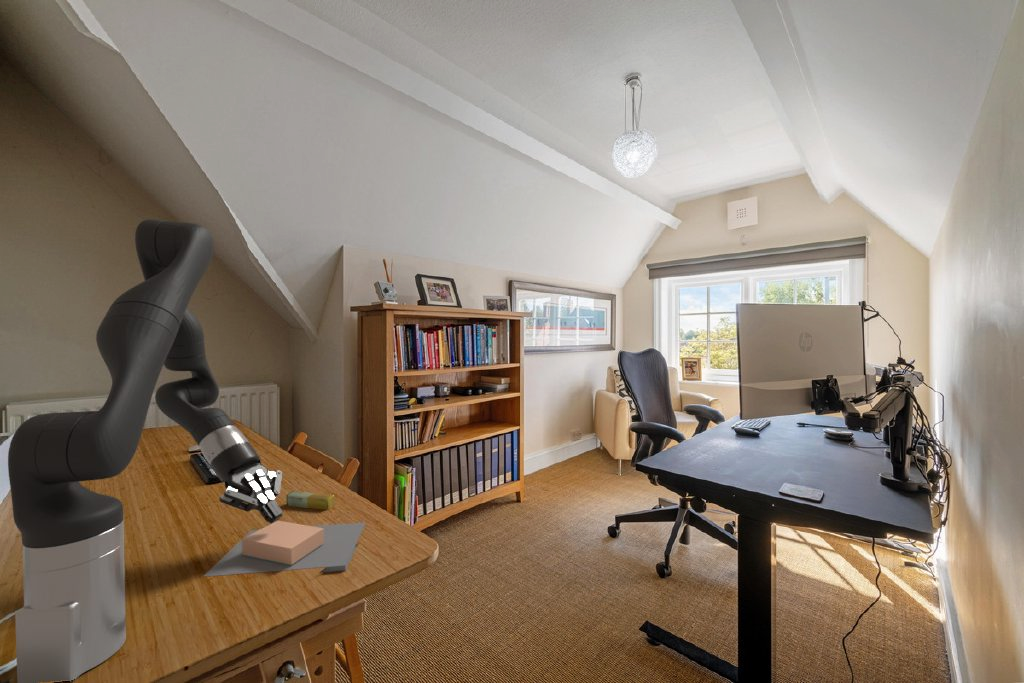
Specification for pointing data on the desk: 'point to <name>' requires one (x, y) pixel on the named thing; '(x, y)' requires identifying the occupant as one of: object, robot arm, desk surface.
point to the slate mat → (329, 555)
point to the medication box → (310, 500)
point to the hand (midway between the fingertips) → (277, 519)
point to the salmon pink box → (283, 542)
